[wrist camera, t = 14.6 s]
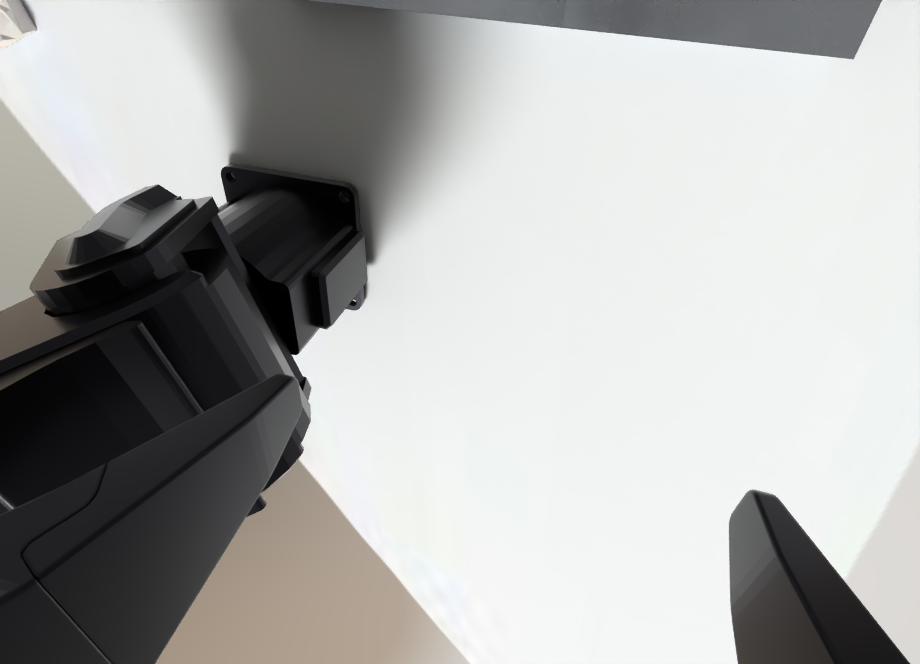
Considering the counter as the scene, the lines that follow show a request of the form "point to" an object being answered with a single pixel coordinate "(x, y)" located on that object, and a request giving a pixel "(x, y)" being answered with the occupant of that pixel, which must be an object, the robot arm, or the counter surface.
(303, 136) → the counter surface
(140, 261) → the robot arm
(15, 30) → the packaged product
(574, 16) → the grey block with opening
